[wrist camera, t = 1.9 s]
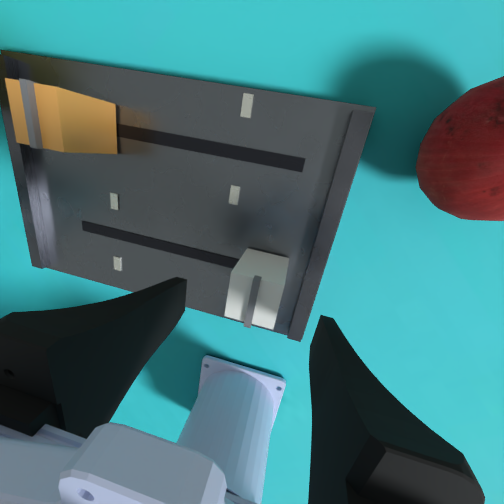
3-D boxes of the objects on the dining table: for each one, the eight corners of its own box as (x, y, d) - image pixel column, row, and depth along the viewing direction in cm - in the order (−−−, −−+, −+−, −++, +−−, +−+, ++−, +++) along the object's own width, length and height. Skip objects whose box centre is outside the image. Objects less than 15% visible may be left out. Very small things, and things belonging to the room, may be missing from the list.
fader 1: (117, 154, 17) (58, 153, 13) (79, 147, 17) (9, 143, 13) (115, 103, 15) (49, 83, 11) (74, 96, 16) (-4, 74, 12)
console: (302, 329, 20) (301, 346, 18) (52, 260, 23) (31, 269, 21) (370, 111, 14) (380, 104, 12) (20, 56, 17) (-14, 44, 15)
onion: (385, 124, 14) (471, 86, 7) (508, 75, 12) (802, -49, 5) (405, 217, 16) (492, 268, 8) (516, 185, 14) (752, 214, 7)
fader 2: (279, 295, 18) (272, 334, 14) (240, 285, 18) (222, 320, 14) (289, 257, 17) (284, 288, 13) (247, 247, 17) (229, 274, 13)
